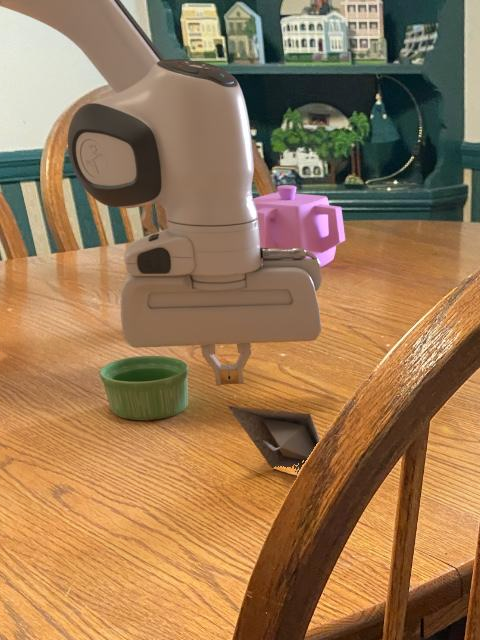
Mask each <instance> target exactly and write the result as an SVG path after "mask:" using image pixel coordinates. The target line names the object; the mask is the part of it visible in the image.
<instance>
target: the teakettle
mask: <svg viewBox="0 0 480 640" xmlns="http://www.w3.org/2000/svg"><path fill="white" fill-rule="evenodd" d="M276 189H277V192H271V193H268V194H264V195H261V196H257V197H253V201H254V204H255V207H256V209H257V214H258V224H259V236H260V247H261V248H279V249H280V248H282V249H292V248H304V249H305V251H306V252H310V253H312V254H313V255H315V256H316V257H317V259H318V260H319V262H320V265H321V268H323V267H325V266H326V265H328V264H330V263H331V262H332V261H333V260H334V258H335V255H336V250H337V246H338V245H341V243H343V242H345V241H346V234H345V226H344V218H343V211H342V206H338V205H331V204H330V203H329V199H328V196H326V195H318V194H308V193H307V194H306V193H296V192H297V186H296V185H292V184H282V185H278V186H276ZM306 258H311V257H309V256H306ZM306 258H304V259H306ZM262 259H263V258H262ZM262 259H261V261H262ZM285 259H286V258H285ZM288 259H289V258H288ZM262 263H263V262H262Z"/></svg>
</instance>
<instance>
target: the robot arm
mask: <svg viewBox="0 0 480 640" xmlns="http://www.w3.org/2000/svg"><path fill="white" fill-rule="evenodd" d="M0 7H2V8H4V9H8V10H11V11H13V12H17V13H18V14H22V15H24V16H26V17H28V18H31V19H34V20H36V21H38V22H40V23H42V24H44V25H47V26H48V27H50V28H51V29H54V30H55V31H57V32H59V33H61V34H62V35H63V36H64V37H66V38H67V39H69V40H70V41H71V42H72V43H73V44H75V46H77V48H79V49H80V50H81V52H82V53H83V54H84V55H85V57H86V58H87V59H88V60H89V61H90V63H91V64H92V65H93V67H94V68H95V69H96V71H98V73H99V74H100V75H101V76H102V77H103V79H104V81H106V83H107V84H108V85H109V86H110V88H111V89H112V90H113V91H114V92H115V93H114V94H112V95H108V96H105V97H104V98H100V99H98V100H94V101H92V102H89V103H87V104H83V105H82V106H81V107H79V108H78V109H77V110H76V112H75V113H74V114H73V116H72V118H71V121H70V123H69V126H68V131H67V152H68V158H69V161H70V165H71V167H72V170H73V173H74V175H75V177H76V178H77V180H78V182H79V184H80V185H81V186H82V188H83V189H84V190H85V191H86V192H87V193H88V194H89V195H90V196H91V197H92V198H93V199H94V200H96V201H97V202H98V203H100V204H101V205H104V206H108V207H111V208H118V209H119V208H120V209H135V208H139V207H144V206H149V205H157V204H158V205H160V206H162V208H163V210H164V213H165V221H166V227H167V228H166V229H163V230H160V231H157V232H154V233H151V234H149V235H146V236H142V237H139V238H136V239H135V240H133V241H131V242H130V243H129V244H128V245H127V247H126V249H125V250H124V253H123V254H124V255H123V259H124V265H125V269H126V271H127V273H126V274H125V275H126V276H125V278H124V280H123V283H122V287H121V292H120V321H121V322H120V323H121V332H122V337H123V339H124V341H125V342H126V343H127V344H129V346H131V347H132V348H159V347H160V348H161V347H163V348H164V347H185V346H186V347H187V346H200V348H201V356H202V357H203V358H204V360H205V361H206V362H207V364H208V365H209V366H210V367H211V369H212V370H213V371H214V377H215V385H216V386H225V385H226V386H227V385H244V384H245V383H244V373H243V370H244V368H245V367H246V365H247V362H248V361H249V358H250V356H251V355H252V347H251V344H267V343H292V342H293V343H295V342H314V341H316V340H317V339H318V337H319V336H320V335H321V333H322V320H321V311H320V306H319V300H318V296H317V291H318V290H319V289H320V287H321V284H322V267H321V265H320V262H319V260H318V259H317V257H316V256H315V255H313V254H312V253H310V252H306V251H305V249H304V248H292V249H282V248H280V249H279V248H261V247H260V236H259V224H258V214H257V209H256V207H255V204H254V201H253V199H254V197H253V190H252V188H253V178H254V175H255V174H254V173H255V163H254V151H253V142H252V133H251V126H250V119H249V114H248V108H247V104H246V99H245V97H244V93H243V90H242V88H241V86H240V83H239V82H238V80H237V79H236V77H235V76H234V75H232V74H231V73H230V72H228V71H227V70H226V69H224V68H222V67H219V66H217V65H214V64H211V63H207V62H203V61H197V60H188V59H185V58H165V57H164V56H163V54H162V53H161V52H160V50H159V49H158V48H157V47H156V45H155V44H154V43H153V41H152V40H151V39H150V38H149V36H148V35H147V33H146V32H145V31H144V29H143V28H142V27H141V26H140V24H139V23H138V22H137V20H136V19H135V18H134V16H133V15H132V13H130V11H129V10H128V9H127V8H126V6H125V5H124V4H123V2H122V1H121V0H0ZM306 256H309V257H311V258H306ZM262 258H263V259H262ZM285 258H286V259H285ZM288 258H289V259H288ZM304 258H306V259H304ZM261 259H262V261H261ZM262 262H263V263H262ZM216 345H236V349H237V353H238V354H239V355H238V358H237V360H236V362H235V363H230V364H227V363H226V364H221V362H220V361H219V359H217V357H216V356H215V354H216Z"/></svg>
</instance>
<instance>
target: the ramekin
mask: <svg viewBox="0 0 480 640" xmlns="http://www.w3.org/2000/svg"><path fill="white" fill-rule="evenodd" d="M189 369H190V368H189V365H188V363H187V362H185V360H182V359H180V358H176V357H172V356H164V355H139V356H138V355H136V356H131V357H124V358H120V359H116V360H114V361H111V362H108V363H107V364H105V365H104V366H102V367H101V368H100V370H99V373H98V374H99V377H100V379H101V382H102V383H103V385H104V389H105V392H106V397H107V401H108V404H109V407H110V408H109V409H110V411H111V412H112V413H113V414H114V415H116V416H118V417H120V418H122V419H127V420H133V421H154V420H155V421H156V420H162V419H166V418H170V417H173V416H176V415H178V414H180V413H182V412H184V410H186V408H187V407H188V405H189V383H188V375H189Z"/></svg>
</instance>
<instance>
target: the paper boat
mask: <svg viewBox="0 0 480 640" xmlns="http://www.w3.org/2000/svg"><path fill="white" fill-rule="evenodd" d="M227 408H228V409H229V411H230V412H231V414H232V415H233V416H234V417H235V419H236V421H237V422H238V424H240V427H242V429H243V430H244V431H245V433H246V435H247V436H248V437H249V439H250V440H251V441H252V443H253V444H254V445H255V447H256V448H257V450H258V451H259V453H260V454H261V455H262V457H263V458H264V460H265V461H266V462H267V464H268V465H269V466H270V468H271V469H272V468H274V467H275V466H276V467H278V466H279V467H280V466H282V467H283V466H284V467H286V468H287V467H291V468H292V466H293V465H294V464H295V465H298V463H299V465H298V466H297V467H296V466H295V465H294V469H295V468H296V470H297V469H298V467H299V470H300V469H301V467H302V465H303V464H304V463H305V461H306V460H307V458H308V457H309V455H310V454H311V452H312V451H313V449H314V447H315V446H316V444H317V443H318V442H319V440H321V437H320V435H319V432H318V430H317V427H316V425H315V423H314V419H313V417H312V415H311V413H303V412H294V411H286V410H276V409H275V410H274V409H273V410H272V409H265V408H253V407H245V406H244V407H243V406H235V405H227ZM303 460H304V462H303V463H302V461H303ZM299 470H298V471H297V474H298V472H299ZM295 472H296V471H295ZM296 476H297V475H296ZM296 476H295V477H296Z"/></svg>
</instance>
